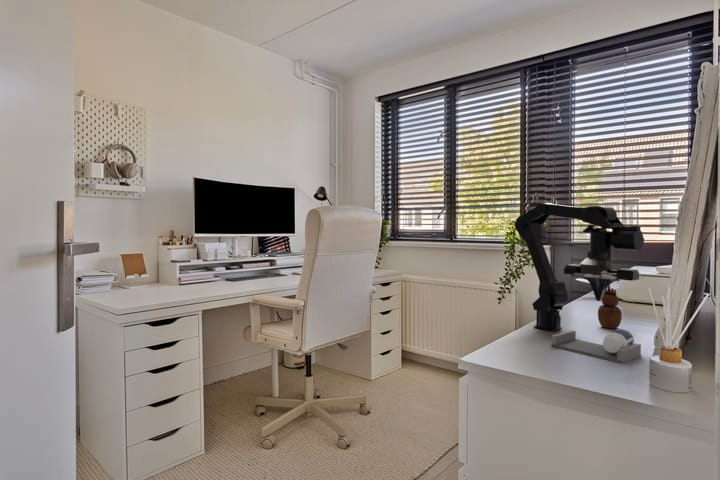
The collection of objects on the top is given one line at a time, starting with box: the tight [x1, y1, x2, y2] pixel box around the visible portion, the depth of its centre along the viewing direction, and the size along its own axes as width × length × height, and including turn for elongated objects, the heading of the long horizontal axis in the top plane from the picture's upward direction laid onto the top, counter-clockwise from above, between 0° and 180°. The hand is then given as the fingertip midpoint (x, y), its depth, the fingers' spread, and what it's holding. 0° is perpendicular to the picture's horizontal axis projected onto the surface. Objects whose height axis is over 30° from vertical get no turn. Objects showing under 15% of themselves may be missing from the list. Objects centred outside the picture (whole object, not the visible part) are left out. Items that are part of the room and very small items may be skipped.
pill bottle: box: [602, 328, 635, 354], centre depth 107 cm, size 5×5×10 cm
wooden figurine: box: [597, 284, 623, 330], centre depth 137 cm, size 7×6×15 cm
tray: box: [550, 329, 642, 364], centre depth 110 cm, size 18×11×3 cm, turn 35°
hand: (598, 300), depth 121 cm, fingers closed
